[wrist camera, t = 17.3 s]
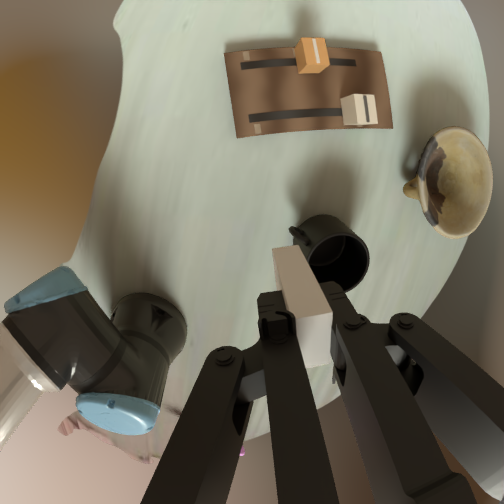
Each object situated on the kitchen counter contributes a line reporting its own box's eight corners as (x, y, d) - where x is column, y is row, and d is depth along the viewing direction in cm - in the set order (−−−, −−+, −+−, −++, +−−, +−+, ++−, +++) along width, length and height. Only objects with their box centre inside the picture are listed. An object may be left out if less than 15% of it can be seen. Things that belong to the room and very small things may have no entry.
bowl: (455, 124, 36) (490, 127, 27) (461, 213, 43) (492, 228, 34) (383, 128, 37) (416, 128, 28) (395, 231, 44) (424, 252, 35)
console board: (237, 138, 37) (236, 138, 35) (224, 57, 32) (223, 53, 30) (387, 128, 37) (393, 128, 35) (375, 54, 32) (381, 51, 30)
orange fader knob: (298, 73, 31) (307, 64, 27) (294, 49, 30) (301, 37, 25) (319, 73, 31) (330, 64, 26) (314, 49, 30) (324, 37, 25)
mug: (301, 193, 41) (316, 208, 32) (358, 232, 43) (382, 254, 35) (268, 243, 44) (274, 269, 35) (325, 276, 46) (342, 305, 38)
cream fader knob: (343, 125, 34) (358, 123, 30) (340, 98, 33) (354, 93, 28) (362, 124, 34) (378, 123, 29) (358, 99, 33) (374, 94, 28)
